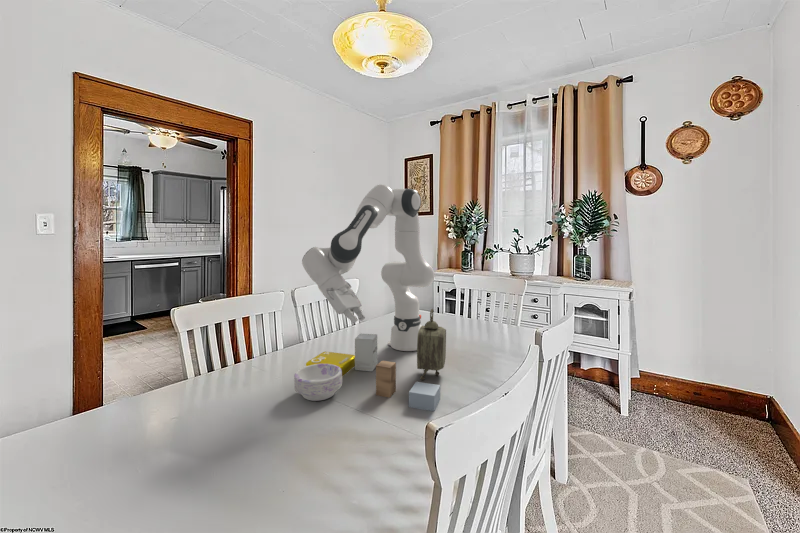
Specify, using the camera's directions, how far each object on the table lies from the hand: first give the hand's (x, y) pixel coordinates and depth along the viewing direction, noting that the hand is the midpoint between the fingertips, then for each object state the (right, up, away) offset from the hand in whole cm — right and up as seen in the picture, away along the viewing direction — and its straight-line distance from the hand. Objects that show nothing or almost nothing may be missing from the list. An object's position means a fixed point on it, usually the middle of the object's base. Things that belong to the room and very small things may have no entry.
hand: (359, 320), depth 125 cm
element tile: (-13, -22, +19) cm, 32 cm away
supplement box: (0, -21, +20) cm, 29 cm away
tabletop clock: (+25, -22, +13) cm, 36 cm away
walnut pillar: (+9, -24, -3) cm, 25 cm away
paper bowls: (-13, -24, -4) cm, 27 cm away
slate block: (+21, -25, -9) cm, 34 cm away
